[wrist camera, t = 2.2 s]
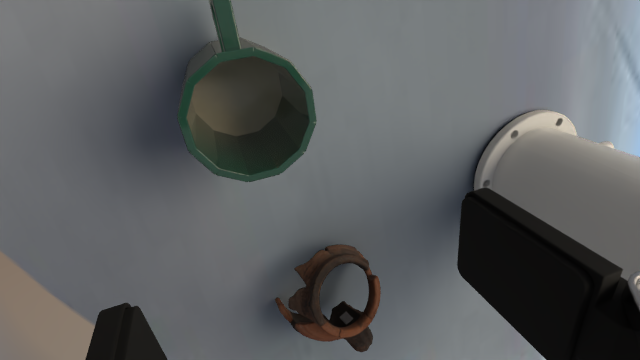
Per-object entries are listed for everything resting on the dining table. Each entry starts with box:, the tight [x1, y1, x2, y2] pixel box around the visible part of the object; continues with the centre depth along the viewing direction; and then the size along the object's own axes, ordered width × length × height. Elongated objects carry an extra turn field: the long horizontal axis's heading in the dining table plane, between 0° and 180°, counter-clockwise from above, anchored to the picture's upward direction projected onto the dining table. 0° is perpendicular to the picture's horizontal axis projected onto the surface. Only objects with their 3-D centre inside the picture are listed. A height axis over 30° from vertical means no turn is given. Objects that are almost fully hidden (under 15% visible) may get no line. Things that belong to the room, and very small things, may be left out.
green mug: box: [177, 0, 316, 182], centre depth 22 cm, size 10×7×8 cm
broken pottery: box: [275, 245, 381, 352], centre depth 35 cm, size 12×10×8 cm
